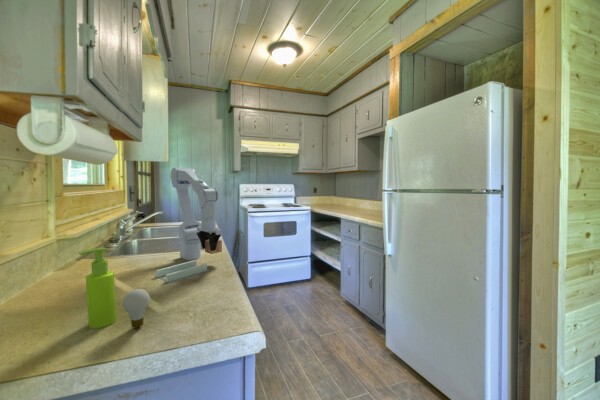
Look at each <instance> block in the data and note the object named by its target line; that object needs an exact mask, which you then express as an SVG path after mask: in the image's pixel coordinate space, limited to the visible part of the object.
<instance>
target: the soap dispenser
mask: <svg viewBox="0 0 600 400" xmlns="http://www.w3.org/2000/svg"><path fill="white" fill-rule="evenodd" d="M104 252H107V248H105V247H96V248H90V249H84V250H82V251H80V252H78V254H79V255H80V256H86V255H88V254H92V253H94V260H93V261H91V266H90V267H91V273H89V274H88V275H86V276H85V285H86V286H85V287H86V303H87V320H88V328H89V329H92V328H97V329H102V328H101V327H103V328H106V327H108V325H109V326H110V324H111V325H113V324H114V323H116V321H117V309H116V308H117V306H116V289H115V285H116V284H115V272H114V271H112V270H109V265H108V263H109V262H108V260H107V259H105V258H104ZM105 326H106V327H105Z"/></svg>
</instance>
